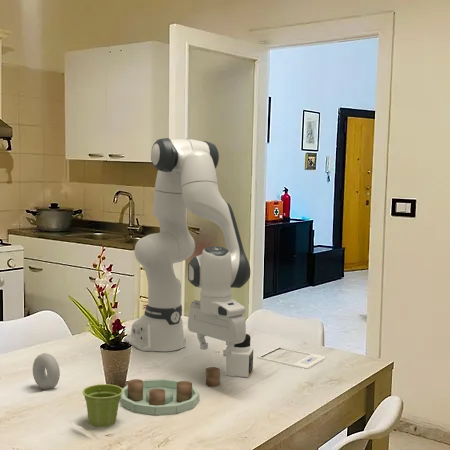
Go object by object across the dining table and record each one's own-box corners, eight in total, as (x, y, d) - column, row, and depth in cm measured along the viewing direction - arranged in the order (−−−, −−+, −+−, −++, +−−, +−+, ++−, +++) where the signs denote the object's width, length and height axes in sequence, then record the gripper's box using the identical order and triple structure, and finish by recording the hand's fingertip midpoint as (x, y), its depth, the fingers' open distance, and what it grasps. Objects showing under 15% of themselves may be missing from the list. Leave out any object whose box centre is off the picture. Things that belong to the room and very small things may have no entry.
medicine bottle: (248, 377, 192) (250, 338, 190) (225, 375, 193) (226, 336, 192) (252, 370, 199) (254, 332, 197) (229, 368, 200) (231, 330, 199)
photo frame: (307, 367, 201) (257, 356, 211) (307, 370, 201) (257, 359, 211) (326, 356, 213) (278, 346, 223) (326, 359, 213) (278, 349, 223)
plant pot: (85, 418, 159) (85, 383, 158) (123, 418, 159) (124, 383, 159) (79, 434, 149) (79, 397, 149) (120, 434, 150) (121, 397, 149)
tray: (105, 402, 169) (105, 390, 169) (164, 385, 183) (165, 374, 183) (153, 426, 155) (153, 413, 155) (213, 405, 169) (214, 393, 169)
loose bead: (176, 397, 171) (177, 380, 171) (192, 397, 171) (192, 381, 171) (175, 402, 167) (176, 385, 167) (191, 403, 167) (191, 386, 167)
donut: (62, 392, 175) (62, 356, 174) (51, 395, 173) (51, 359, 172) (40, 383, 182) (40, 348, 180) (29, 386, 179) (29, 351, 178)
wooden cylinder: (202, 384, 185) (203, 368, 185) (212, 380, 188) (213, 365, 188) (212, 387, 183) (212, 372, 182) (222, 384, 185) (222, 369, 185)
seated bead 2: (145, 408, 163) (145, 391, 162) (158, 404, 166) (158, 387, 165) (155, 413, 160) (156, 395, 159) (168, 409, 163) (168, 391, 162)
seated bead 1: (124, 398, 169) (124, 381, 169) (136, 394, 172) (137, 378, 171) (133, 402, 166) (134, 385, 166) (146, 399, 169) (146, 382, 169)
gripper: (183, 300, 188) (182, 347, 189) (233, 312, 174) (233, 362, 175) (199, 297, 192) (198, 343, 194) (249, 308, 178) (248, 358, 179)
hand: (215, 352), depth 184 cm, fingers open, 8 cm apart
